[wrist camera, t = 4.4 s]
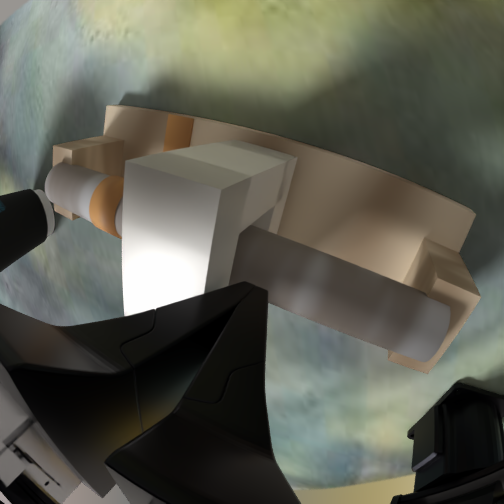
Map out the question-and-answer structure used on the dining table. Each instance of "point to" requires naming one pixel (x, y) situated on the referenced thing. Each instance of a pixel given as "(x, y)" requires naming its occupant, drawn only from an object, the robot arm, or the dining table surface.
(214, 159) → the collar
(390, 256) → the pipe rig
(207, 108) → the dining table surface
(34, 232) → the dixie cup
